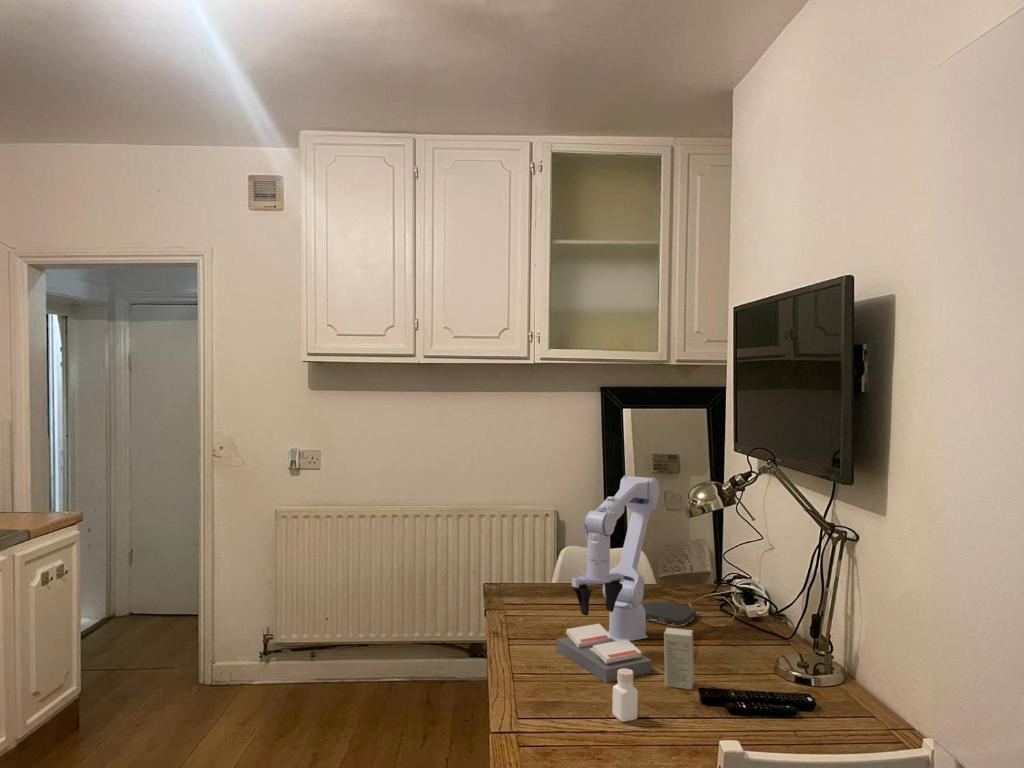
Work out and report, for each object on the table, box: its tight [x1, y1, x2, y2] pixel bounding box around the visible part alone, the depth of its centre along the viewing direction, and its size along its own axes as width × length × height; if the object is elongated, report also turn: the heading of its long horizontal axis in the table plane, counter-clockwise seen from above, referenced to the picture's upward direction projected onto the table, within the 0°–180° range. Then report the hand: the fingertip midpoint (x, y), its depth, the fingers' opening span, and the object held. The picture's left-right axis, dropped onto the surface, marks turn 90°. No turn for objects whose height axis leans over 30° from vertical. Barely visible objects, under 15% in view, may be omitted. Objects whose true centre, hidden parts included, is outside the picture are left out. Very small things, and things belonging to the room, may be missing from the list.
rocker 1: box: [565, 623, 612, 648], centre depth 184 cm, size 10×6×1 cm, turn 118°
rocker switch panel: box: [555, 636, 652, 683], centre depth 179 cm, size 13×22×3 cm, turn 28°
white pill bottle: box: [612, 669, 639, 723], centre depth 149 cm, size 4×4×10 cm
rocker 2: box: [592, 639, 642, 664], centre depth 173 cm, size 10×6×1 cm, turn 118°
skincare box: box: [663, 627, 695, 690], centre depth 166 cm, size 6×4×12 cm
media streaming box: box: [642, 601, 697, 625], centre depth 214 cm, size 15×15×3 cm
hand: (597, 612), depth 184 cm, fingers open, 7 cm apart
